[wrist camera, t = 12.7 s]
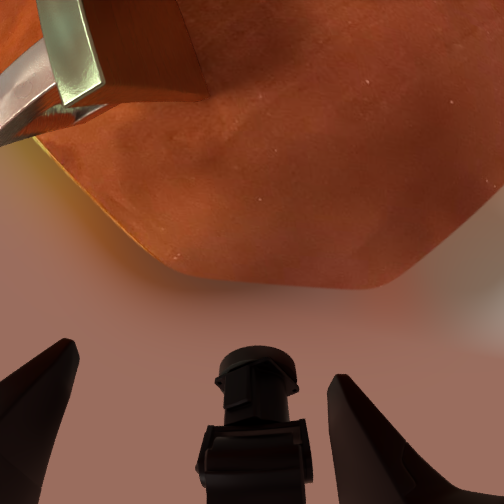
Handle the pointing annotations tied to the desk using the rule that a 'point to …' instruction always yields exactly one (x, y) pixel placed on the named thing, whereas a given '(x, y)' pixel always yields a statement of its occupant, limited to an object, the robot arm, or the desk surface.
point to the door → (97, 64)
